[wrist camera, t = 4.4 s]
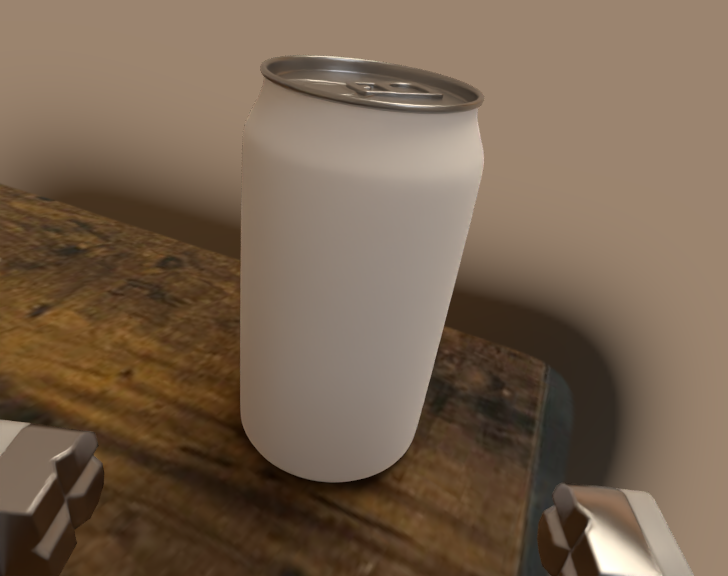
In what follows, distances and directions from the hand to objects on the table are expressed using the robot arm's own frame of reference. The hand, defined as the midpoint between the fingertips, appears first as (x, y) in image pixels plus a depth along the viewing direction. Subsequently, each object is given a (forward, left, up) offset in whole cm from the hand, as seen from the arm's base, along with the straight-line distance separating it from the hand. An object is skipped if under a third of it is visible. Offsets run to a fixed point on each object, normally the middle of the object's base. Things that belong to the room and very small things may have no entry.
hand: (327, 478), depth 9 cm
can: (-1, -8, -7) cm, 10 cm away
